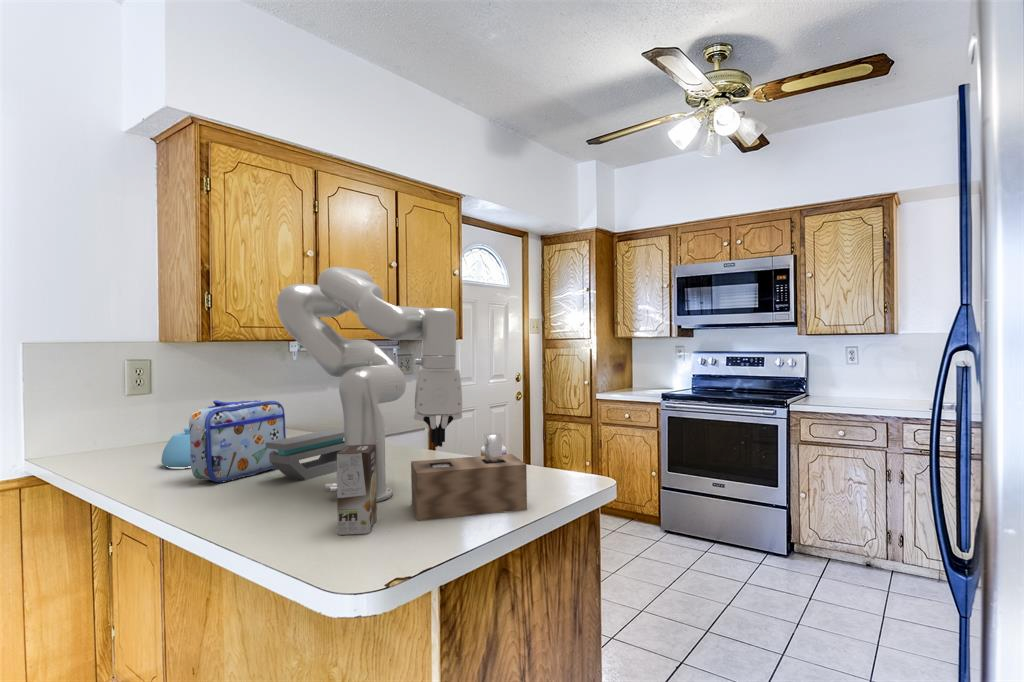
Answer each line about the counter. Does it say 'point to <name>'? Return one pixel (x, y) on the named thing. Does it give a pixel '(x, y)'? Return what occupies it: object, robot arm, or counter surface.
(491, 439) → the peg right
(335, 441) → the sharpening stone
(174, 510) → the counter surface
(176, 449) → the sugar bowl
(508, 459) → the walnut block
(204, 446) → the lunch box
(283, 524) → the counter surface
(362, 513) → the coffee box
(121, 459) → the counter surface
